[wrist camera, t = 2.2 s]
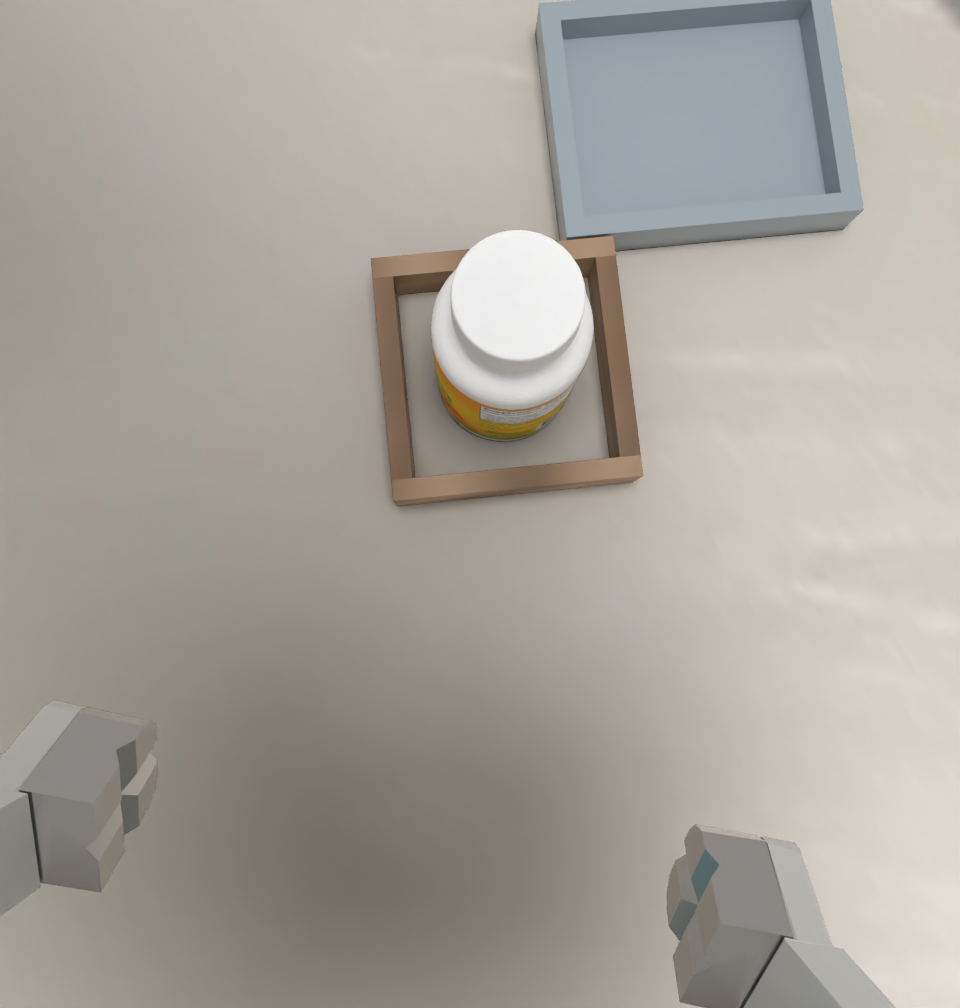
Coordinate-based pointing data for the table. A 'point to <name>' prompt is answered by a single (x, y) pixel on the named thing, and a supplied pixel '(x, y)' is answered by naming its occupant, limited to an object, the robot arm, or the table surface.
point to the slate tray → (695, 120)
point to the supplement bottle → (511, 334)
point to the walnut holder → (620, 468)
